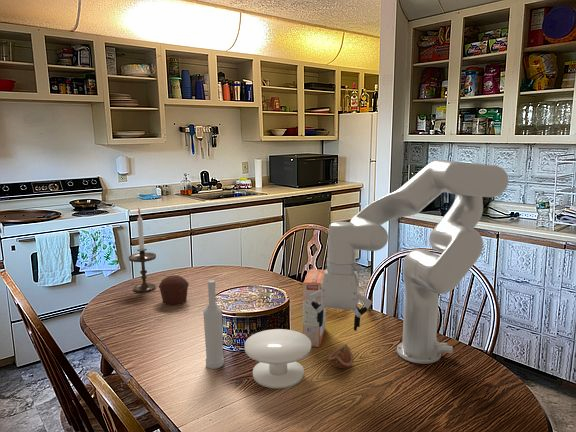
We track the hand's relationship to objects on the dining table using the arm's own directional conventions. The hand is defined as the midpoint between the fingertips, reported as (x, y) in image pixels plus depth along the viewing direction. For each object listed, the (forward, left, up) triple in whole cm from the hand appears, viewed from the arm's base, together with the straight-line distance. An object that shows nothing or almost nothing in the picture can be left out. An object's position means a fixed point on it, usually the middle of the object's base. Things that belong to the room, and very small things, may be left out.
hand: (338, 326), depth 124 cm
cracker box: (+9, -16, -12) cm, 22 cm away
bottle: (+34, +7, -12) cm, 37 cm away
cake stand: (+15, +8, -12) cm, 21 cm away
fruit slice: (-1, 0, -12) cm, 12 cm away
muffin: (+68, -35, -12) cm, 78 cm away
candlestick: (+87, -45, -12) cm, 99 cm away
